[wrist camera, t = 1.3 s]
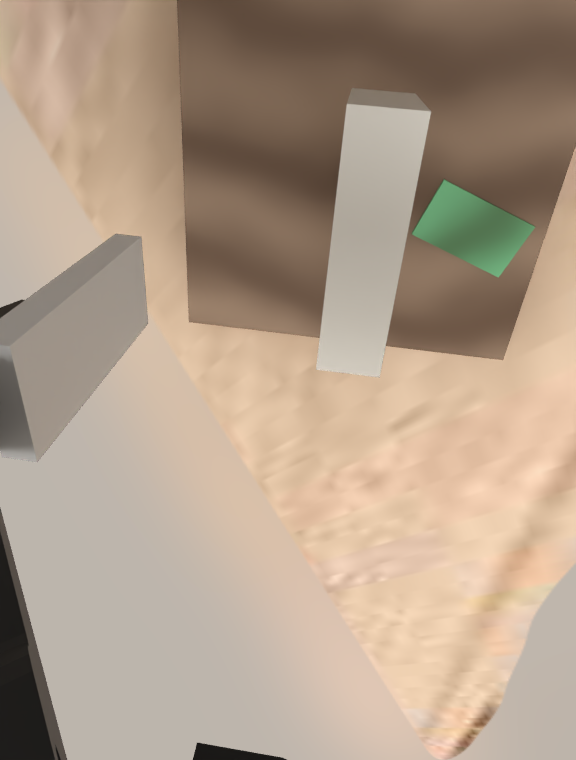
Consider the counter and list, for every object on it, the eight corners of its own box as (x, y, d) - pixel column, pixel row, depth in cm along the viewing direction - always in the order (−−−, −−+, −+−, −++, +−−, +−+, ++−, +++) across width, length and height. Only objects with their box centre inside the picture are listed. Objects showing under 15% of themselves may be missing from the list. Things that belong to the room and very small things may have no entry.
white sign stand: (355, 77, 26) (346, 103, 15) (405, 82, 26) (431, 111, 15) (325, 326, 33) (305, 459, 23) (363, 331, 33) (362, 466, 22)
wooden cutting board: (187, -75, 25) (172, -84, 23) (622, -45, 24) (644, -52, 22) (197, 308, 36) (188, 323, 34) (496, 344, 35) (503, 361, 33)
